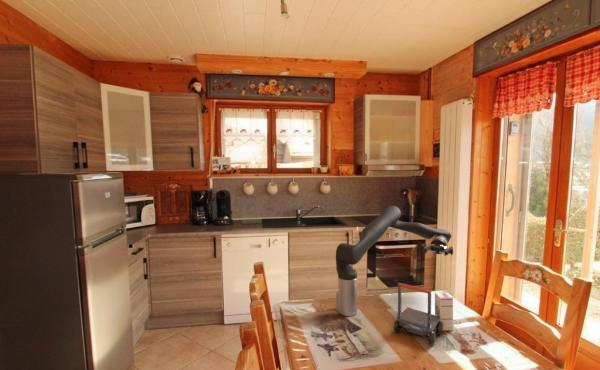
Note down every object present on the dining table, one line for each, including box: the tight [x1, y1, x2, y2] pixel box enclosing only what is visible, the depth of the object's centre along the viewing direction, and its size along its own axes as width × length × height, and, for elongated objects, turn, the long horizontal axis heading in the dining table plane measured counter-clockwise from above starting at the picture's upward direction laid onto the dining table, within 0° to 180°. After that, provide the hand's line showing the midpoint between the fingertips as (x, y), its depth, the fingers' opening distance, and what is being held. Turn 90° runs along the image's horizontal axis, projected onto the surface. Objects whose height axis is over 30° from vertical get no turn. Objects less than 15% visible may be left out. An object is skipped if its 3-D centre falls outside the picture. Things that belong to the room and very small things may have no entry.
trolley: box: [393, 282, 444, 346], centre depth 125 cm, size 15×15×21 cm
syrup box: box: [434, 291, 454, 331], centre depth 129 cm, size 6×6×14 cm
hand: (435, 252), depth 140 cm, fingers open, 8 cm apart
